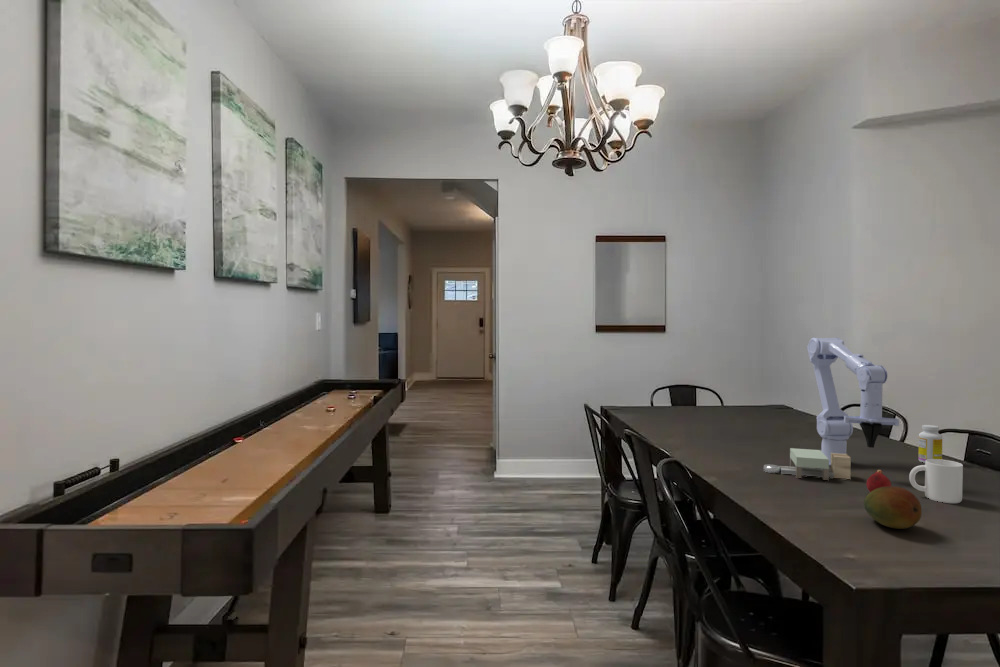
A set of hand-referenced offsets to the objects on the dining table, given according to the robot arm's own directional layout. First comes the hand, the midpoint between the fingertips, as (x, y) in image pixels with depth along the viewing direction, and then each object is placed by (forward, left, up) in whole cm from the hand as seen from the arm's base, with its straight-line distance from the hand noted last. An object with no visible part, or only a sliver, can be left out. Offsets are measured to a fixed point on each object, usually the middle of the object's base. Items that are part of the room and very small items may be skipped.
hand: (870, 446), depth 181 cm
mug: (+17, +12, -10) cm, 23 cm away
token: (+1, -28, -10) cm, 30 cm away
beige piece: (+1, -16, -10) cm, 19 cm away
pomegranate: (+22, -3, -10) cm, 25 cm away
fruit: (+46, -7, -10) cm, 48 cm away
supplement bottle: (-29, +26, -10) cm, 40 cm away
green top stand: (+1, -17, -10) cm, 20 cm away
